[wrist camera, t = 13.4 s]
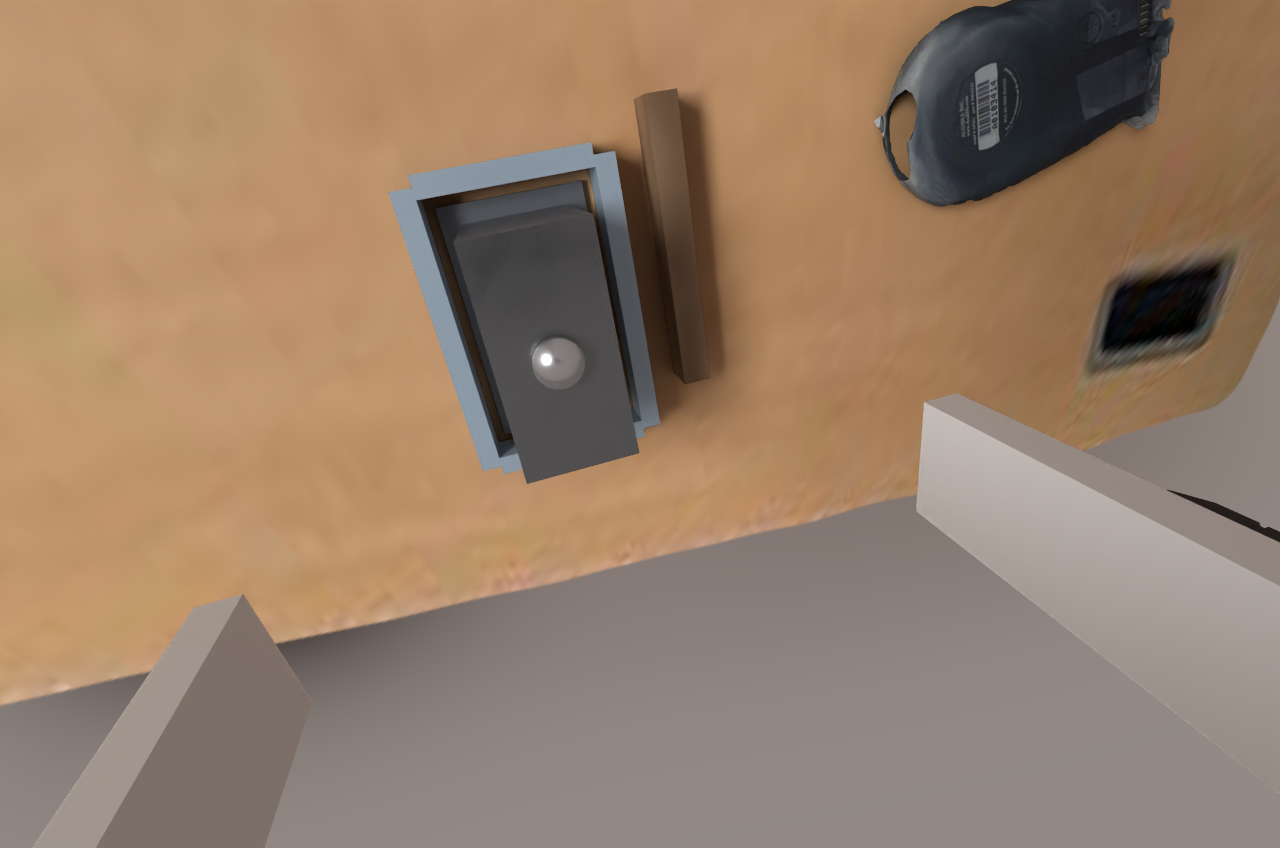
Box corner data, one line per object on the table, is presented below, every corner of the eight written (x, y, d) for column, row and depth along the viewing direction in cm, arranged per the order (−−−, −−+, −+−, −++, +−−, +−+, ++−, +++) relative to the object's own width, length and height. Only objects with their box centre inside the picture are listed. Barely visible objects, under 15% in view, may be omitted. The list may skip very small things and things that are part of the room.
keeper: (485, 461, 32) (486, 478, 30) (391, 179, 25) (383, 179, 23) (652, 418, 33) (661, 431, 31) (604, 141, 26) (612, 138, 25)
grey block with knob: (462, 224, 26) (452, 244, 18) (565, 204, 27) (596, 214, 19) (517, 412, 31) (527, 490, 23) (604, 390, 31) (642, 459, 24)
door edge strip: (674, 372, 32) (685, 384, 30) (634, 99, 26) (644, 93, 24) (698, 366, 32) (710, 377, 31) (664, 94, 26) (677, 88, 25)
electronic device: (1081, -53, 30) (866, 48, 27) (1207, -83, 26) (965, 34, 23) (1059, 128, 35) (878, 228, 33) (1159, 130, 31) (960, 244, 28)
